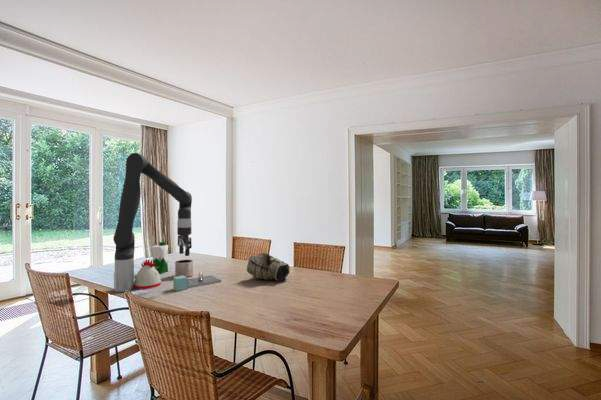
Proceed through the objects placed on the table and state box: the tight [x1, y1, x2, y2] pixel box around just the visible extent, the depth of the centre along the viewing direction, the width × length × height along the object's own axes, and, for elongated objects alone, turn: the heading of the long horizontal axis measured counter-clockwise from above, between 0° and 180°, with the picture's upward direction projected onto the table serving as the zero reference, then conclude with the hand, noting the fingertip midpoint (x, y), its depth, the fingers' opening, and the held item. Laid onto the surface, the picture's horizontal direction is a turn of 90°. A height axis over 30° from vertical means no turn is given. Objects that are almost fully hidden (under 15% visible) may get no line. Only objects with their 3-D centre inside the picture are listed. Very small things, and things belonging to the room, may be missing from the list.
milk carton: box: [151, 241, 169, 275], centre depth 212 cm, size 9×9×20 cm
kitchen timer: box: [134, 259, 162, 290], centre depth 181 cm, size 14×14×15 cm
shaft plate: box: [187, 271, 222, 289], centre depth 188 cm, size 20×14×6 cm
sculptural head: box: [246, 251, 290, 282], centre depth 197 cm, size 17×21×25 cm
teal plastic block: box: [172, 276, 188, 292], centre depth 174 cm, size 6×6×7 cm
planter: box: [174, 259, 194, 278], centre depth 202 cm, size 11×11×10 cm
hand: (184, 254), depth 179 cm, fingers open, 8 cm apart
